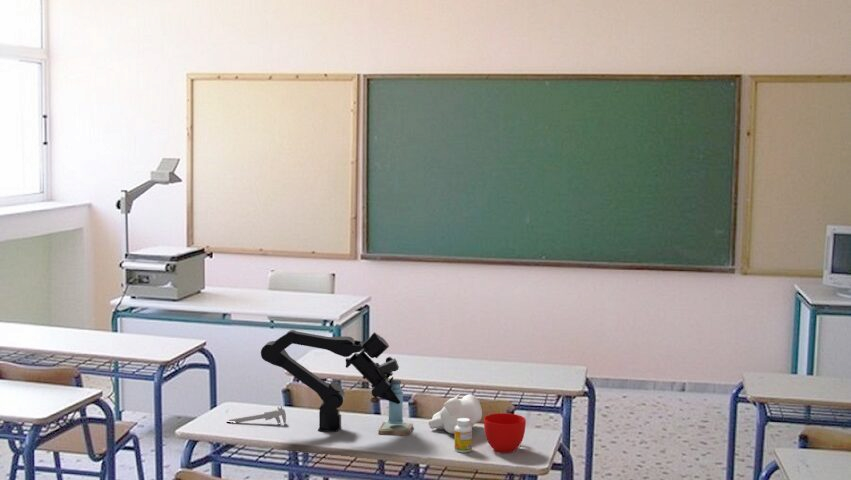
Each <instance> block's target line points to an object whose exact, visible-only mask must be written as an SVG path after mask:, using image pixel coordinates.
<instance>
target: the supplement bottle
mask: <svg viewBox="0 0 851 480" xmlns="http://www.w3.org/2000/svg"><path fill="white" fill-rule="evenodd" d="M457 424H458V425H457V426H456V427H455V434H454V446H453V447H454V451H456V453H457V452H458V453H469V452H471V451H472V448H473V446H472V445H473V432H472V431H473V429H472V428H473V427H471V426H469V425H470V419H468V418H459V419H457Z"/></svg>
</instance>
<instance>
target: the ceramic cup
mask: <svg viewBox="0 0 851 480" xmlns="http://www.w3.org/2000/svg"><path fill="white" fill-rule="evenodd" d="M526 422H527V421H526V418H525V417H524V416H522V415H520V414H514V413H506V412H505V413H504V412H503V413H500V412H499V413H491V414H488V415H485V416H484V417H483V426H484V427H483V428H484V435H485V438H486V440H487V443H488V444H489V446H490V447H491V448H492V450H493V451H494V452H495V453H498V454H500V453H501V454H511V453H514V452H515V451H516V450H517V449H518V448H519V447H520V445H521V444H522V441H523V439H524V436H525V432H526V424H527V423H526Z"/></svg>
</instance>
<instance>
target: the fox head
mask: <svg viewBox="0 0 851 480" xmlns="http://www.w3.org/2000/svg"><path fill="white" fill-rule="evenodd" d="M459 396H460V393H458V394H457V395H456V396H455V397H451V398H449V399H448V400H447V401H445V403H443V407H442V408H441V410H440V411H438V412H436V413H434V414H433V416H432V419H431V418H430V419H429V420H428V426H429V428H430V429H432V430H433V429H434V430H435V429H436V430H440V431H441V430H445V431H446V432H447V433H449V434H453V435H455V427H456V426H457V425H458V424H457V419H459V418H468V419H470V425H469V426H471V427H472V428H473V427H474V426H475V424H477V423H479V422H480V421H481V419H482V416H483V410H482V407H481V403H480V401H479V399H478V398H477V397H476V396H475V395H474V394H466V395H465V396H463V397H462V398H458V397H459Z"/></svg>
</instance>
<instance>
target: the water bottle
mask: <svg viewBox="0 0 851 480" xmlns="http://www.w3.org/2000/svg"><path fill="white" fill-rule="evenodd" d="M391 383H392V390H393V392H394V393H395V395H396V396H397V397H398V399H399V400H400V403H399V404H396V403H394V402H391V401H389V400H388V420H387V422H388V423H390V424H401V423H404V420H403V415H404V414H403V410H404V408H403V407H404V404H403V403H404V392H403V389H402V388H401V385H402V380H401V379H393V380H391Z"/></svg>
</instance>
